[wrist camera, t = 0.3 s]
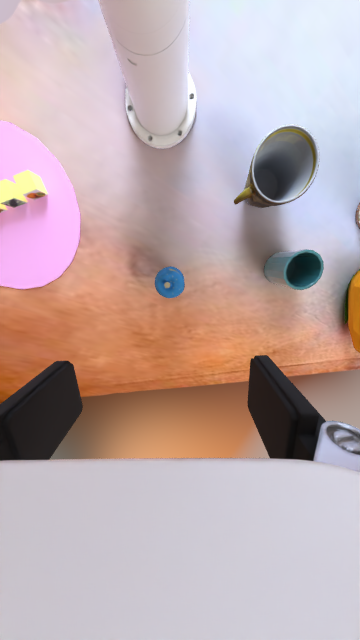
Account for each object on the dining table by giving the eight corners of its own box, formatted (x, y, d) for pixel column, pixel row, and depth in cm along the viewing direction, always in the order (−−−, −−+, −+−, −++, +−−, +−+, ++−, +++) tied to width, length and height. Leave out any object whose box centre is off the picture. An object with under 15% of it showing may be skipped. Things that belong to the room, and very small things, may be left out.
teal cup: (258, 265, 43) (276, 266, 34) (285, 245, 41) (312, 241, 33) (273, 290, 44) (295, 297, 36) (301, 271, 43) (330, 274, 34)
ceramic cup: (273, 146, 36) (304, 106, 27) (293, 197, 39) (329, 177, 29) (213, 189, 39) (222, 166, 29) (236, 235, 41) (252, 227, 32)
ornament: (189, 278, 44) (191, 287, 30) (172, 292, 45) (166, 308, 31) (174, 260, 43) (169, 260, 29) (157, 275, 44) (144, 283, 30)
